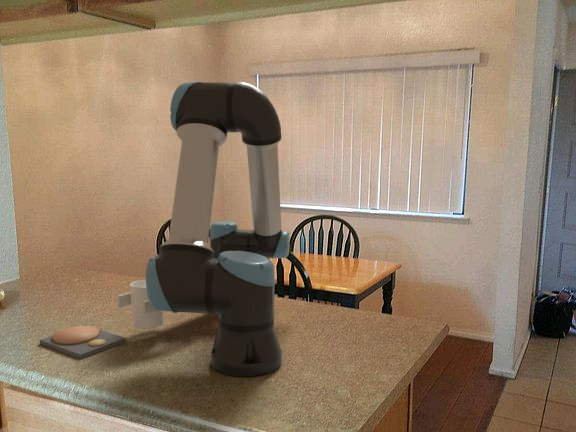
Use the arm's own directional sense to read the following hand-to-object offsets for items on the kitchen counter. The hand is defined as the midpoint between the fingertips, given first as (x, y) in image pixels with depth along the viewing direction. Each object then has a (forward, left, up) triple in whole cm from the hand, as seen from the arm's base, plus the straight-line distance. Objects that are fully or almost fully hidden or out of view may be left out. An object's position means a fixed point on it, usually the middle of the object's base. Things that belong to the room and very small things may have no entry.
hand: (131, 304), depth 117 cm
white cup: (0, -5, -6) cm, 8 cm away
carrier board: (+10, +5, -10) cm, 15 cm away
